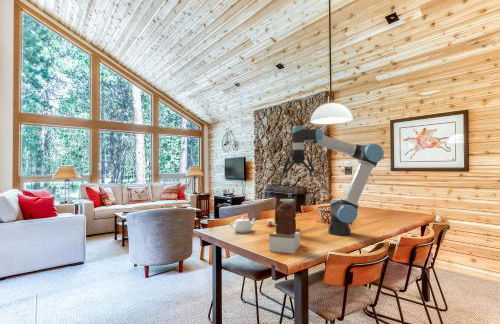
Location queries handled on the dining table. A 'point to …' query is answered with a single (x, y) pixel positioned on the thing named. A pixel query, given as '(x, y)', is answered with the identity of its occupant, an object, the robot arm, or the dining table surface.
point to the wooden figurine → (285, 219)
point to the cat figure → (270, 222)
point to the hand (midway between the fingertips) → (298, 181)
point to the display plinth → (284, 242)
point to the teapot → (242, 225)
